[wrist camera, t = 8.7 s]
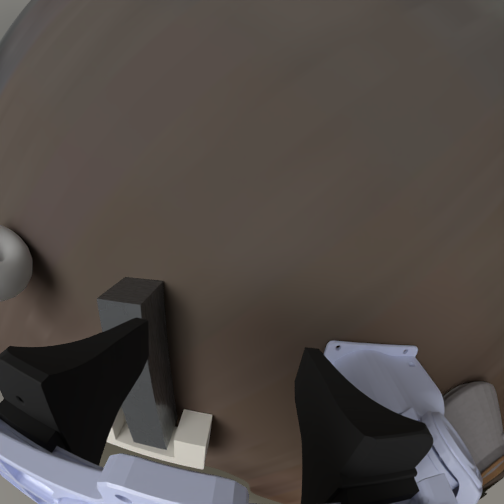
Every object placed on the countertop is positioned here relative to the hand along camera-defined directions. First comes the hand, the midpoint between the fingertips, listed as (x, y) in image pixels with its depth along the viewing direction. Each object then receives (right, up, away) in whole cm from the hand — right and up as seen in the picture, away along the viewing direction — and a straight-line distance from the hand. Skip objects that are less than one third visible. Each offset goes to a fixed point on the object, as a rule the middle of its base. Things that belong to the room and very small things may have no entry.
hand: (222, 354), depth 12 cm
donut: (-22, +5, +10) cm, 25 cm away
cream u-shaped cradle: (-9, -13, +14) cm, 21 cm away
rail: (-8, -5, +12) cm, 15 cm away
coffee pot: (+30, -11, +12) cm, 34 cm away
